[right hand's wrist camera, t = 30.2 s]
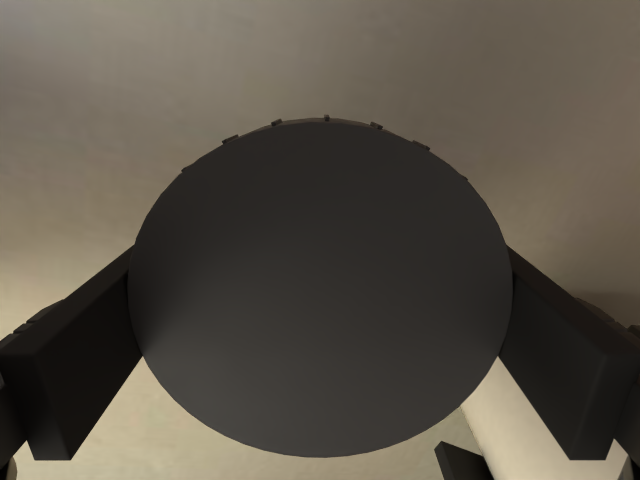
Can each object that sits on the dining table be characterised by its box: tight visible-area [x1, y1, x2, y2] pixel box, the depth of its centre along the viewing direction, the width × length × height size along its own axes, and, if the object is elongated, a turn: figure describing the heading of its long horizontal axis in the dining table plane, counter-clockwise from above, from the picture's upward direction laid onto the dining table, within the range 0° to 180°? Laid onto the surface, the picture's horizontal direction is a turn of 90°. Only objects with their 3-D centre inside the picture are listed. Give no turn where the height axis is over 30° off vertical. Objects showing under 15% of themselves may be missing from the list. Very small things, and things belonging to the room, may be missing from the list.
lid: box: [127, 115, 513, 458], centre depth 11 cm, size 11×11×2 cm
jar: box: [460, 356, 628, 480], centre depth 18 cm, size 9×9×15 cm
